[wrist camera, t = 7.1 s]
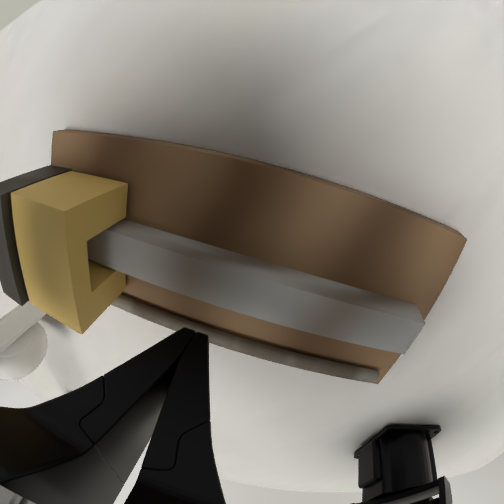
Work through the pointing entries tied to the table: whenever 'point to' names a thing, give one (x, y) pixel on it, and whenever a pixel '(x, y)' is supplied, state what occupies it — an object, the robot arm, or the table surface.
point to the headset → (21, 342)
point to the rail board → (254, 254)
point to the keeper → (68, 244)
